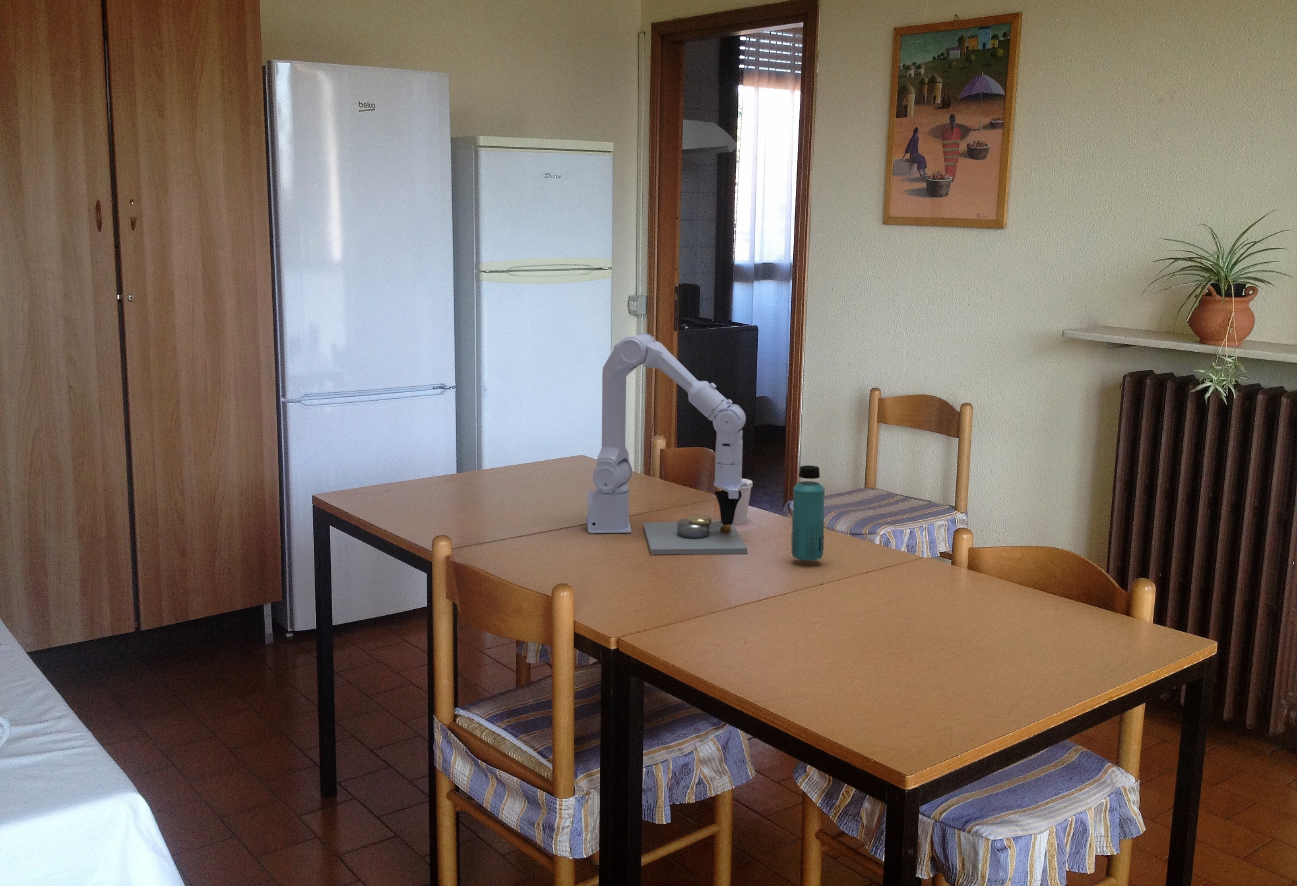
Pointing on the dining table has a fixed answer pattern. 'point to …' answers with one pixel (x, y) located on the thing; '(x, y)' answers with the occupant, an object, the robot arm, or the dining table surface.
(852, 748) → the dining table surface
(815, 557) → the beverage bottle
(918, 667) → the dining table surface
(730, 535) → the stand
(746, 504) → the smoothie
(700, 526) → the crank
